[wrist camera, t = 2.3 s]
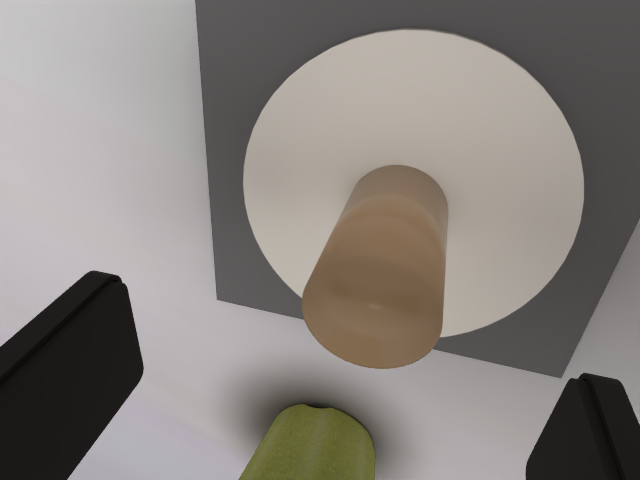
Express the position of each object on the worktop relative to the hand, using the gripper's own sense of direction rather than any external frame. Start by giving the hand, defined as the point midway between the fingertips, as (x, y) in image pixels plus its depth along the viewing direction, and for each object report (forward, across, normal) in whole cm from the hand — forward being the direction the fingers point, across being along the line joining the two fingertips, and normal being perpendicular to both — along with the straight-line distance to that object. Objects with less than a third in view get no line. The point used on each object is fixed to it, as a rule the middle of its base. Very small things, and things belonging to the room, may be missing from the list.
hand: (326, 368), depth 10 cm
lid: (+9, -1, 0) cm, 9 cm away
